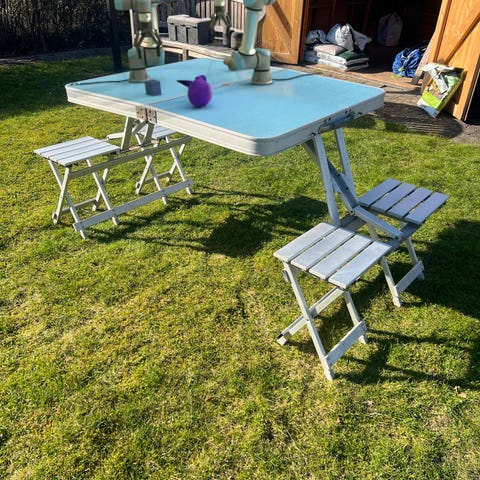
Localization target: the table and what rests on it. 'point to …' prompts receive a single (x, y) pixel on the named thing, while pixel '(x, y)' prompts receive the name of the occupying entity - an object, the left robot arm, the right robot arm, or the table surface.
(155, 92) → the brick
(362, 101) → the table surface
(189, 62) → the table surface
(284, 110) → the table surface
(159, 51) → the left robot arm
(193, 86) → the toy
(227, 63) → the teapot
